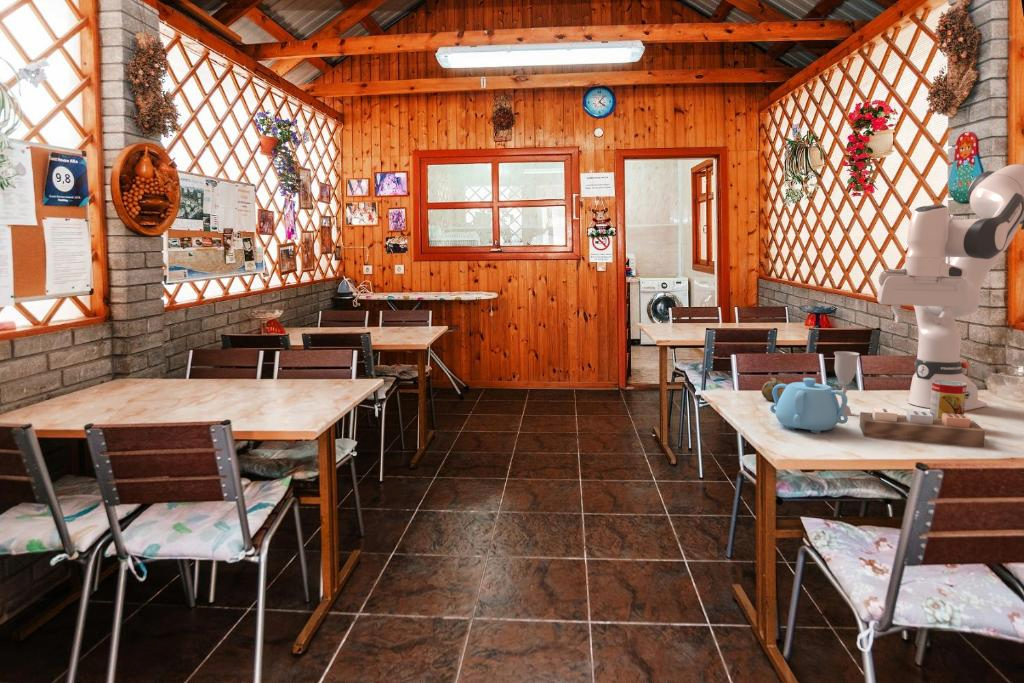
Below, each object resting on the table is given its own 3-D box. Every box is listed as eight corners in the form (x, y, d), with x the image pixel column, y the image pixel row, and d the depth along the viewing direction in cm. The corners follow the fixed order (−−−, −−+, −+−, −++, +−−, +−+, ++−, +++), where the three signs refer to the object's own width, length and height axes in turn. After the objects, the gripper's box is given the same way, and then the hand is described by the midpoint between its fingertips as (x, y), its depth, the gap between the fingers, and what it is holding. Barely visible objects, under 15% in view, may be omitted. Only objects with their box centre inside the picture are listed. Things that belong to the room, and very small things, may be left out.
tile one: (874, 422, 174) (875, 411, 173) (872, 418, 178) (872, 407, 178) (896, 424, 172) (897, 413, 171) (893, 419, 176) (894, 408, 176)
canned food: (969, 429, 179) (973, 385, 178) (940, 429, 180) (943, 385, 178) (951, 422, 187) (954, 379, 186) (922, 421, 187) (926, 379, 186)
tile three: (945, 428, 168) (946, 416, 167) (941, 423, 172) (942, 412, 172) (969, 430, 166) (970, 418, 166) (964, 425, 170) (965, 414, 170)
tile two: (909, 425, 171) (910, 414, 170) (906, 420, 175) (907, 409, 175) (932, 427, 169) (933, 415, 168) (928, 422, 173) (929, 411, 173)
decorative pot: (825, 421, 189) (827, 373, 187) (851, 435, 173) (854, 384, 171) (766, 420, 189) (768, 373, 188) (787, 435, 173) (790, 383, 172)
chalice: (858, 416, 193) (863, 355, 191) (833, 415, 194) (837, 354, 192) (851, 411, 200) (855, 351, 198) (827, 410, 201) (830, 351, 199)
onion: (791, 403, 211) (792, 378, 210) (766, 403, 211) (767, 378, 210) (782, 398, 218) (783, 374, 217) (757, 398, 219) (758, 374, 218)
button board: (864, 436, 172) (865, 421, 172) (859, 426, 182) (860, 411, 182) (983, 447, 163) (985, 431, 162) (971, 435, 173) (973, 420, 172)
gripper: (884, 268, 169) (879, 323, 171) (974, 270, 165) (968, 326, 167) (876, 268, 175) (871, 320, 177) (962, 270, 171) (956, 323, 173)
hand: (919, 323), depth 172 cm, fingers open, 8 cm apart
